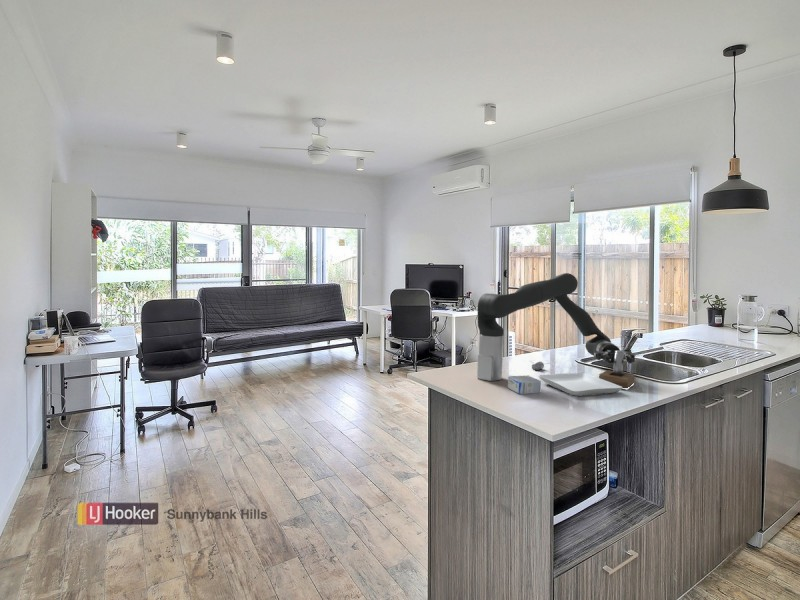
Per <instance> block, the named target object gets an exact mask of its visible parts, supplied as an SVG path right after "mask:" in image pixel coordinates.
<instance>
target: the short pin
mask: <svg viewBox="0 0 800 600" xmlns="http://www.w3.org/2000/svg"><path fill="white" fill-rule="evenodd" d="M544 367H545V364H544V362H542V361H538V362H535V363H532V365H531V369H532V371H534V370H535V372H537V371H540V370H543V369H544Z"/></svg>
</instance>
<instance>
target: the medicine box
mask: <svg viewBox="0 0 800 600" xmlns="http://www.w3.org/2000/svg"><path fill="white" fill-rule="evenodd" d="M541 382H542V381H541V379H540V380H539V379H538V378H535V377H533V376H530V375H529V374H528V375H511V376H508V380H507V389H509V390H511V391H513V392H515V393H517V395H524V394H527V395H528V394H540V393H541V385H542V383H541Z"/></svg>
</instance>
